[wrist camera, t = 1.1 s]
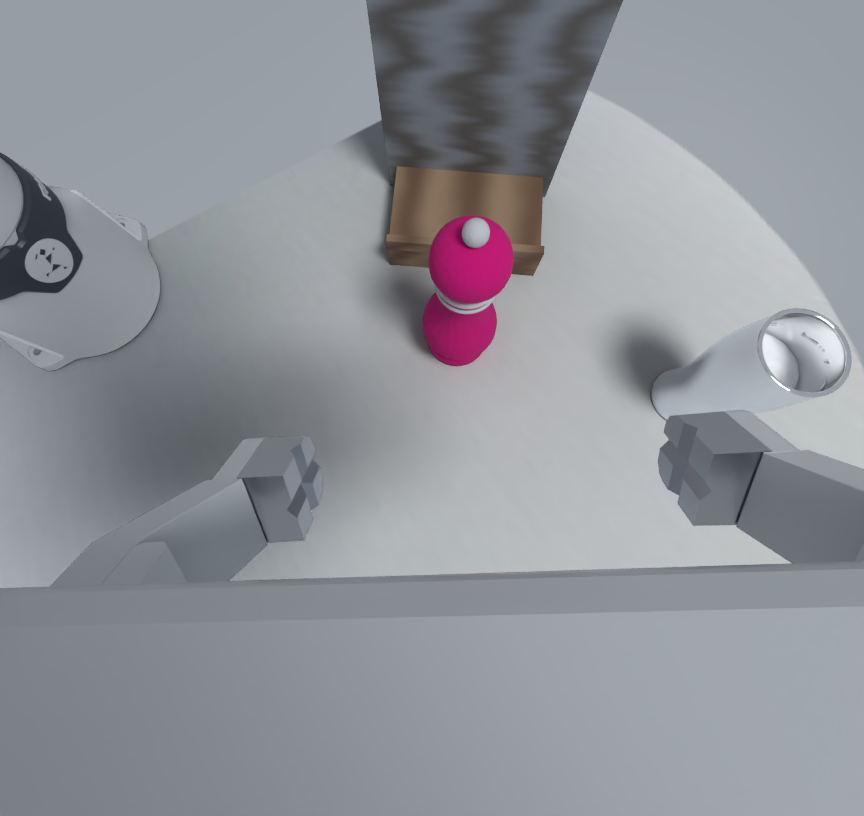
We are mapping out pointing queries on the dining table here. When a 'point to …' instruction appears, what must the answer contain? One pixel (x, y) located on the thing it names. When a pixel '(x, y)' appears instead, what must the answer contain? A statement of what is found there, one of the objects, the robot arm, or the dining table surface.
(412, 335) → the dining table surface
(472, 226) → the pepper mill
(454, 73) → the ledge shelf
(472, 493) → the dining table surface
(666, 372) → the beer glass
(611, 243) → the dining table surface
